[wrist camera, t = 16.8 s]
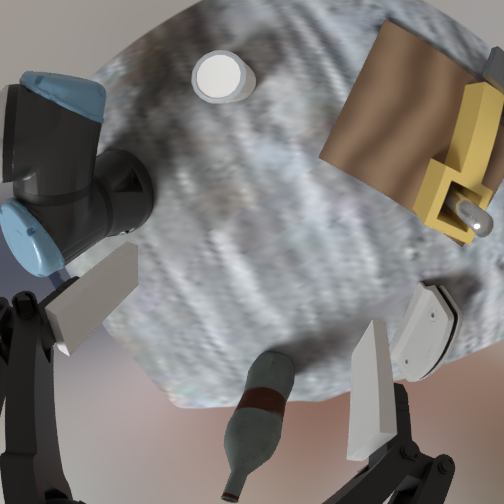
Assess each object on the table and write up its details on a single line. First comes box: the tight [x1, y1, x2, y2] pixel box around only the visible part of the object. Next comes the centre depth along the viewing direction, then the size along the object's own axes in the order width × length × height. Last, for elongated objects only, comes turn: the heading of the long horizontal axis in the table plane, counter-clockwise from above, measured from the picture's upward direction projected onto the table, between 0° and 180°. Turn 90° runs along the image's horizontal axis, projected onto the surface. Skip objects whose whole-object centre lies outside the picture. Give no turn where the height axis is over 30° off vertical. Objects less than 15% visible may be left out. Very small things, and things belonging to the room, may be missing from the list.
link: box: [413, 82, 504, 245], centre depth 27 cm, size 20×8×6 cm, turn 168°
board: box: [319, 20, 504, 247], centre depth 30 cm, size 25×22×2 cm
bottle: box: [221, 352, 295, 503], centre depth 43 cm, size 9×9×30 cm
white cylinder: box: [191, 50, 256, 104], centre depth 32 cm, size 7×7×7 cm
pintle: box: [443, 186, 493, 237], centre depth 28 cm, size 2×2×14 cm
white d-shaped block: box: [389, 282, 463, 382], centre depth 40 cm, size 17×5×10 cm, turn 174°
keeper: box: [482, 47, 504, 127], centre depth 20 cm, size 11×4×13 cm, turn 67°
